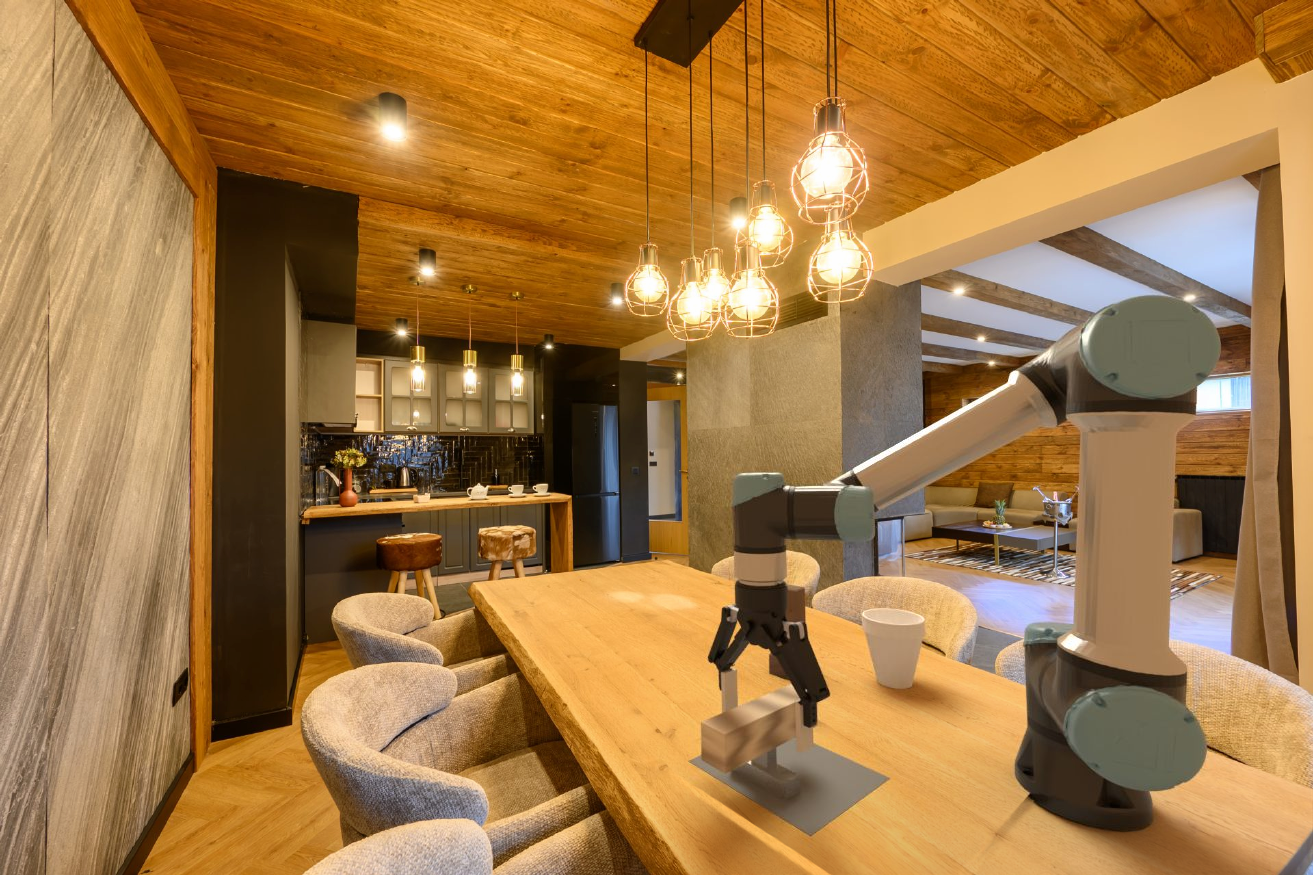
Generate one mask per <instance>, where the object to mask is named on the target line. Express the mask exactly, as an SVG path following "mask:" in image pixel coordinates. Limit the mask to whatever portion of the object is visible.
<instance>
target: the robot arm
mask: <svg viewBox="0 0 1313 875" xmlns="http://www.w3.org/2000/svg"><path fill="white" fill-rule="evenodd" d="M1221 347H1222V343H1221V337H1220V334H1219V331H1218V329H1217V327H1216V325H1215V323H1214V322H1213V321H1212V319H1211V318H1210V317H1209V316H1208V315H1207V314H1206V313H1205V311H1201V310H1200V309H1199V308H1197V307H1196V306H1194V305H1192V303H1189V302H1187V301H1186V300H1182V299H1180V298H1177V297H1173V296H1168V295H1167V296H1166V295H1160V294H1159V295H1158V294H1155V295H1154V294H1149V295H1148V294H1147V295H1146V294H1145V295H1139V296H1134V297H1129V298H1126V299H1124V300H1123V299H1122V300H1121V301H1118V302H1116V303H1111V304H1109V305H1108V306H1104V307H1103V308H1100V309H1099V310H1097V311H1096V312H1094V313H1093V314H1092V315H1091V316H1089V317H1088V319H1087V320H1085V321H1084V322H1082V323H1081V324H1079V325H1077V326H1075V327H1073V328H1072V329H1070V330H1069V331H1066V333H1064V334H1063V335H1062V336H1061V337H1060V338H1059V339H1058V340H1056V341H1055V342H1053V344H1051V345H1050V346H1049V347H1048V348H1046V349H1045V350H1044V351H1042V352H1041V353H1039V354H1038V355H1037V356H1036V357H1034V358H1033V359H1031V360H1030V361H1029V362H1027V363H1025V364H1024V365H1021V366H1020V367H1018V368H1016V369H1015V370H1013V371H1011V372H1010V373H1009V376H1008V381H1007V382H1006V383H1004V384H1003V385H1001V386H999V387H997V388H995V389H994V390H992V391H989V392H988V393H987V394H985V395H983V396H981V397H979V398H977V399H976V400H974V401H972V402H970V403H968V404H967V405H964V406H963V407H961V408H959V409H957V410H955V411H954V412H952V413H951V414H949V415H947V416H944V417H943V418H941V419H939V420H938V421H936V422H934V423H932V424H931V425H929V426H927V427H925V428H923V429H922V430H920V431H918V432H916V433H915V434H912V435H911V436H909V437H908V438H906V439H904V440H902V441H900V442H899V443H897V444H895V445H894V446H891V447H890V448H887V449H886V450H884V451H882V452H881V453H878V454H877V455H874V456H873V457H871V458H869V459H868V460H866V461H864V462H863V463H861V464H859V465H857V466H855V467H853V468H852V469H850V470H849V471H847V472H845V473H843V474H841V475H839V476H837V477H836V478H834V479H832V480H829V481H827V482H825V483H824V484H822V485H815V486H814V485H813V486H812V485H811V486H808V485H807V486H796V485H793V486H792V485H786V481H785V477H784V475H783V473H781V472H744V473H743V472H742V473H738V474H737V475H735V477H733V480H732V503H731V512H732V529H733V530H732V531H733V533H732V534H733V575H734V577H735V579H737V580H736V581H735V582H734V604H730V605H726V606H723V607H722V608H721V616H720V617H721V618H720V623H719V625H718V628H717V631H716V634H715V636H714V639H713V642H712V645H711V646H710V650H709V653H708V655H707V661H708V663H710V664H714V665H715V666H716V669H717V670H718V688H719V691H721V713H724V712H726V711H728V710H731V709H733V708H735V707H738V706H739V698H738V695H739V693H738V669H737V668H735V667H734V666H735V665H736V664H735V663H736V662H737V660H738V659H739V658H740V657H741V656H742V654H743V653H744V651H745V650H746V649H747V647H748V645H751V646H758V647H760V648H761V649H764V650H768V651H769V652H770V653H771V654H772V655H773V656H775V657H776V658H777V659H778V661H779V663H780V665H781V666H782V668H783V670H784V672H785V673H786V675H787V677H788V679H787V680H789V682H790V684H792V686H793V687H794V689H795V691H796V693H797V694H798V696H799V698H800V699H798V700H796V701H795V715H796V747H797V752H799V753H803V752H805V751H807V750H808V749H810V748H812V747H814V743H815V742H814V741H815V740H814V728H813V726H815V725H816V724H817V718H818V703H819V702H822V701H824V700H826V699H827V698H830V697H831V691H830V689H829V686H828V684H827V681H826V679H825V677H824V674H823V671H822V669H821V667H820V664H819V662H818V660H817V659H818V658H817V657H816V654H815V652H814V649H813V646H812V644H811V641H810V640H809V634H808V633H809V632H808V626H807V622H806V623H805V622H804V621H800V622H797V623H794V622H788V620H787V618H786V610H787V607H788V585H789V583H787V581H786V578H787V577H788V567H787V563H788V562H787V540H792V541H793V540H809V541H810V540H811V541H830V542H831V541H833V542H834V541H835V542H845V543H847V544H849V543H853V542H870V541H872V540H873V539H874V538H875V535H876V524H875V523H876V522H875V514H876V513H877V512H878V511H881V510H882V509H885V508H886V507H889V506H890V505H892V504H894V503H896V502H898V501H900V500H902V499H903V498H906V497H908V496H909V495H912V494H914V493H915V492H918V491H919V490H921V489H923V488H925V487H927V486H929V485H931V484H933V483H934V482H937V481H938V480H940V479H943V478H944V477H946V476H948V475H950V474H951V473H954V472H956V471H958V470H960V469H961V468H964V467H965V466H968V465H970V464H971V463H973V462H975V461H977V460H979V459H981V458H983V457H985V456H986V455H989V454H991V453H993V452H994V451H996V450H998V449H1000V448H1002V447H1004V446H1006V445H1008V444H1009V443H1011V442H1014V441H1015V440H1016V441H1017V439H1019V438H1021V437H1024V436H1025V435H1027V434H1029V433H1031V432H1032V431H1035V430H1037V429H1038V428H1047V429H1054V428H1057V427H1058V426H1060V425H1062V424H1064V423H1066V422H1070V423H1071V424H1072V425H1073V426H1074V427H1075V428H1077V429H1078V431H1079V432H1080V438H1079V439H1080V440H1079V441H1080V442H1079V443H1080V444H1079V464H1078V465H1079V468H1078V469H1079V470H1078V490H1077V491H1078V492H1077V494H1078V496H1077V515H1076V516H1077V517H1076V519H1077V520H1076V540H1075V541H1076V544H1075V545H1076V547H1075V569H1074V570H1075V571H1074V593H1073V594H1074V595H1073V596H1074V600H1073V623H1067V622H1066V623H1064V622H1049V621H1046V622H1045V621H1043V622H1042V621H1041V622H1037V621H1036V622H1033V623H1030V624H1028V625H1027V626H1025V628H1024V635H1023V642H1022V646H1023V648H1024V649H1023V650H1024V672H1025V673H1024V674H1025V676H1024V677H1025V700H1026V722H1027V725H1026V729H1025V733H1024V735H1023V737H1022V740H1021V743H1020V746H1019V749H1018V751H1017V753H1016V754H1017V755H1016V757H1015V759H1014V776H1015V778H1016V781H1017V782H1018V783H1019V785H1020V786H1021V787H1022V788H1023V789H1024V790H1025V791H1026V792H1028V793H1029V794H1028V795H1026V796H1027V798H1028V799H1030V800H1031V801H1033V802H1034V803H1035V804H1037V805H1038V806H1040V807H1041V808H1043V809H1045V810H1048V812H1051V813H1054V814H1056V815H1058V816H1059V817H1062V818H1064V819H1067V820H1070V821H1073V822H1075V823H1079V824H1083V825H1086V826H1089V827H1094V828H1098V829H1103V830H1111V831H1124V832H1125V831H1126V832H1127V831H1135V830H1142V829H1144V828H1146V827H1147V828H1148V826H1150V825H1151V823H1153V819H1154V808H1153V804H1154V803H1153V798H1152V794H1151V792H1162V791H1163V792H1164V791H1167V790H1168V791H1169V790H1172V789H1175V787H1176V786H1180V785H1181V784H1183V783H1188V782H1190V781H1191V780H1192V779H1193V778H1194V777H1196V775H1198V773H1199V772H1200V771H1201V770H1202V768H1203V766H1204V764H1205V762H1206V758H1207V753H1208V746H1207V745H1208V744H1207V738H1206V735H1205V732H1204V730H1203V728H1202V726H1201V724H1200V722H1199V720H1198V718H1197V717H1196V716H1195V713H1193V712H1192V711H1191V710H1190V709H1189V708H1188V707H1187V690H1188V689H1187V688H1188V667H1187V664H1186V663H1185V661H1183V660H1182V659H1181V658H1180V657H1179V656H1178V655H1176V653H1174V652H1173V650H1172V649H1171V647H1170V626H1171V625H1170V624H1171V623H1170V620H1171V597H1172V596H1171V595H1172V592H1171V591H1172V568H1173V567H1172V566H1173V565H1172V564H1173V544H1174V543H1173V538H1174V517H1175V516H1174V514H1175V512H1174V511H1175V509H1174V508H1175V483H1176V482H1175V481H1176V458H1177V457H1176V455H1177V453H1176V452H1177V436H1178V433H1179V431H1181V430H1182V429H1183V428H1185V427H1186V426H1187V425H1189V424H1191V423H1192V422H1193V421H1194V420H1196V419H1197V402H1198V387H1199V386H1200V385H1201V384H1203V383H1205V381H1206V380H1207V379H1208V378H1209V376H1210V375H1211V374H1212V373H1213V371H1214V370H1215V369H1216V367H1217V365H1218V363H1219V359H1220V357H1221V352H1222V350H1221V349H1222V348H1221ZM737 624H739V626H740V628H739V629H738V631H737V632H736V634H735V635H734V639H733V640H732V638H733V634H734V632H735V630H736V627H737ZM786 632H787V633H788V634H787V635H786ZM789 638H790V640H789ZM731 640H732V642H731ZM780 642H781V643H782V645H781V646H777V645H778V644H779V643H780ZM806 690H807V692H806Z"/></svg>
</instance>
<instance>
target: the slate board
mask: <svg viewBox="0 0 1313 875" xmlns="http://www.w3.org/2000/svg"><path fill="white" fill-rule="evenodd" d="M776 754H777V764H779V765H781V766H783V767H784V768H786V769H788V770H790V771H792V772H794V773H796V774H798V775H799V777H800V794H799V795H797V796H796V797H794V798H793V799H791V800H790V801H788V802H784V801H782V800H781V799H779V798H777V797H775V796H774V795H772V794H770V793H768V792H767V791H765V790H763V789H762V788H760V787H758V786H756V785H755V784H753V783H751V782H750V781H748V780H746V779H744V778H743V777H741V776H739V775H737V774H736V773H734V772H732V771H730V772H728V773H726V774H724V773H723V772H721V771H719V770H718V769H716V768H714V767H713V766H711V765H709V764H707V763H706V762H704V761H702V760H701V754H700V755H698V756H696V757H694V758H692V759H689V760H688V763H691V764H692V765H694V766H696V767H697V768H699V769H700V770H701V771H703V772H705V773H707V774H708V775H710V776H712V777H713V778H715V779H716V780H718V781H719V782H722V784H724V785H726V786H728V787H730V788H731V789H733V790H734V791H736V792H737V793H739V794H741V795H742V796H745V798H748V799H749V800H751V801H752V802H754V803H756V804H758V806H760V807H762V808H764V809H766V810H767V811H769V812H771V814H773V815H775V816H777V817H778V818H780V819H781V820H783V821H785V822H787V823H788V824H790V825H791V826H793V827H795V828H797V829H798V830H799V831H801V832H802V833H803V832H804V833H805V834H806V835H808V836H809V837H812V836H813V835H814V834H816V833H817V832H819V831H820V830H821V829H823V828H825V826H827V825H828V824H830V823H831V822H832V821H834V820H836V818H838V817H839V816H840V815H841V816H842V814H844V813H845V812H846V811H847V810H849V809H850V808H852V807H853V806H855V804H857V803H859V802H860V801H861V800H862V799H864V798H865V797H867V796H868V795H870V794H871V793H873V792H874V791H875V790H876V789H878V788H879V787H880V786H881V785H883V784H885V783H886V782H887V781H889V780H891V777H889V776H886V775H885V774H882V773H880V772H878V771H875V770H874V769H871V768H869V767H867V766H865V765H863V764H860V763H858V762H856V761H854V760H852V759H849V758H847V757H845V756H843V755H840V754H838V753H836V752H835V751H832V750H830V749H828V748H826V747H823V746H821V745H820V744H816V743H815V742H814V747H812V748H810V749H808V750H807V751H805V752H803V753H799V752H797V747H796V737H795V738H793V739H791V740H789V741H788V742H786V743H784V744H782V745H780V746H778V747H776Z"/></svg>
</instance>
